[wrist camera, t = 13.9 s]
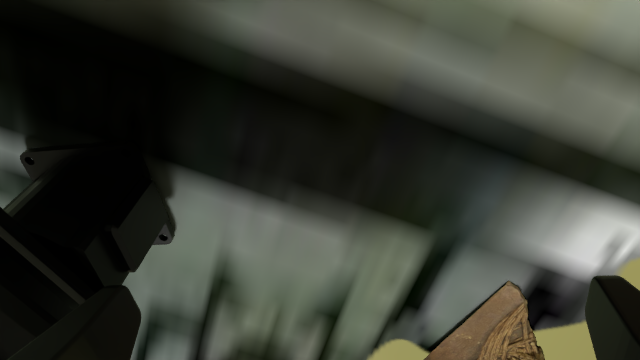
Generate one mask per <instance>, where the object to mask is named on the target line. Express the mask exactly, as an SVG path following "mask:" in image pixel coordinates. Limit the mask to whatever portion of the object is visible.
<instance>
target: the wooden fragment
mask: <svg viewBox="0 0 640 360" xmlns="http://www.w3.org/2000/svg"><path fill="white" fill-rule="evenodd" d="M527 317H528V309H527V300H526V299H525V298H524V296H523V295H522V293H521V291H520V290H519V288H518V287H517V286H515V285H513V284H512V283H511V282H510V281H508V282H507V283H506V285H505V286H504V287H502V288H501V289H500V290H499V291H498V292H497V293H495V294H494V295H493V296H492V297H491V298H490V299H489V300H488V301H487V302H486V303H485V304H484V305H482V307H481V308H480V309H478V310H477V311H476V312H475V313H474V314H473V315H472V316H471V317H470V318H468V319H467V320H466V321H465V322H464V323H463V324H462V325H461V326H460V327H459V328H457V329H456V330H455V331H454V332H453V333H452V334H451V335H450V336H448V337H447V338H446V339H445V340H444V341H443V342H441V344H440V345H439V346H437V348H436V349H435V350H433V351H432V352H431V353H430V354H429V355H428V356H427V357H426V358H425V359H424V360H545V358H544V354H543V350H542V348H541V346H537V341H536V337H535V336H534V333H533V331H532V329H531V327H530V325H529V321H528V320H527Z"/></svg>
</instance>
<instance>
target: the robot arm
mask: <svg viewBox="0 0 640 360" xmlns="http://www.w3.org/2000/svg"><path fill="white" fill-rule="evenodd" d="M125 149H127V150H128V151H129V152H130V153H131V154H130V153H127V152H126V151H125ZM31 158H32V159H33V160H32V159H31ZM20 160H21V162H22V164H23V166H24V167H25V169H26V171H27V172H28V174H29V176H30V177H31V179H32V181H33V182H32V183H31V184H30V185H29V186H28V187H27V188H25V189H24V190H23V191H22V192H21V193H20V194H19V195H18V196H17V197H16V198H15V199H14V200H12V201H11V202H10V203H9V204H8V205H7V206H6V207H5V208H4V209H2V208H1V207H0V360H130V358H131V355H132V351H133V348H134V344H135V341H136V337H137V334H138V330H139V327H140V323H141V312H140V309H139V307H138V305H137V304H136V302H135V300H134V298H133V296H132V294H131V293H130V291H129V289H128V288H127V287H126V286H123V285H122V283H123V282H124V280H125V279H126V277H127V275H128V274H129V272H135V271H136V270H137V269H138V267H139V266H140V264H141V262H142V261H143V259H144V257H145V256H146V254H147V252H148V251H149V249H150V248H151V246H152V245H163V244H169V243H171V242H172V240H173V238H174V236H175V234H174V231H173V229H172V226H171V224H170V222H169V219H168V215H167V212H166V210H165V207H164V205H163V203H162V200H161V198H160V196H159V193H158V191H157V189H156V186H155V184H154V182H153V180H152V179H151V177H150V174H149V172H148V170H147V167H146V165H145V163H144V160H143V158H142V156H141V153H140V151H139V149H138V147H137V145H135V144H134V143H133V142H130V141H116V142H104V143H93V144H81V145H69V146H57V147H45V148H33V149H27V150H26V151H25V152H23V153H22V154H21V155H20ZM163 234H164V235H166V236H164V235H163ZM585 317H586V322H587V325H588V329H589V333H590V337H591V340H592V344H593V348H594V351H595V355H596V358H597V360H640V291H639V290H638V289H637V288H635V287H634V286H633V285H631V284H630V283H629V282H628V281H626V280H625V279H624V278H622V277H620V276H595V277H594V278H593V279H592V281H591V284H590V288H589V293H588V297H587V302H586V306H585Z"/></svg>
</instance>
